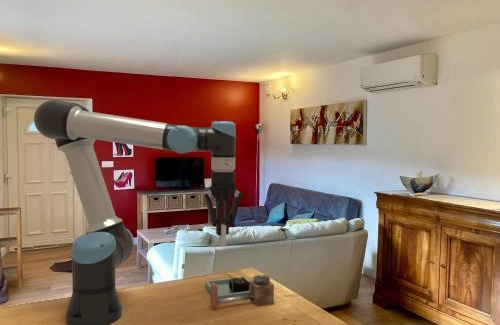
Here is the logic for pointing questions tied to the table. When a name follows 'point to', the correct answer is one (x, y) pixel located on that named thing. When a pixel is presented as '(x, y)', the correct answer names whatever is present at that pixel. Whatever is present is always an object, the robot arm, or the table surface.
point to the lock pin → (215, 301)
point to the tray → (225, 288)
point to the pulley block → (261, 290)
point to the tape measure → (238, 285)
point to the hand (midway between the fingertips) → (222, 245)
